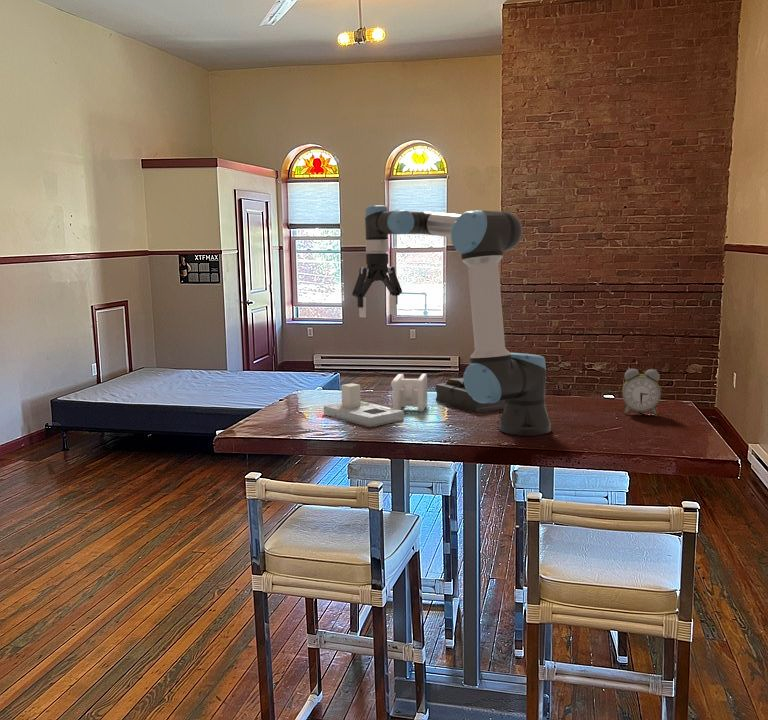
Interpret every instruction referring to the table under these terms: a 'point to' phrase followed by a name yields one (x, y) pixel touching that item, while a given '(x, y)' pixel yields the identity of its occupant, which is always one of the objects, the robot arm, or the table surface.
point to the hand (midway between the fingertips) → (378, 316)
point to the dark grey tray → (462, 397)
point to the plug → (351, 395)
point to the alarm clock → (641, 390)
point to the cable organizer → (409, 392)
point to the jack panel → (365, 414)
